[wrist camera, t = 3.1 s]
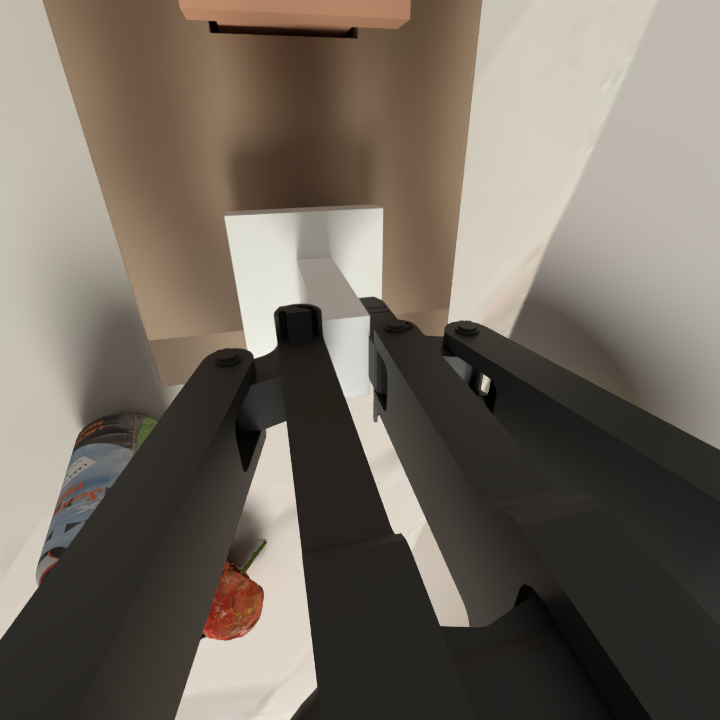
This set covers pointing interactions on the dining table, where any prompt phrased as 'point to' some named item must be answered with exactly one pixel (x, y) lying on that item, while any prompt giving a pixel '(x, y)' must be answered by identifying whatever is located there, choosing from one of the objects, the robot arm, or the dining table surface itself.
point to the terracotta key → (298, 16)
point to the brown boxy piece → (267, 150)
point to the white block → (298, 258)
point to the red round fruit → (234, 603)
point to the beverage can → (91, 478)
